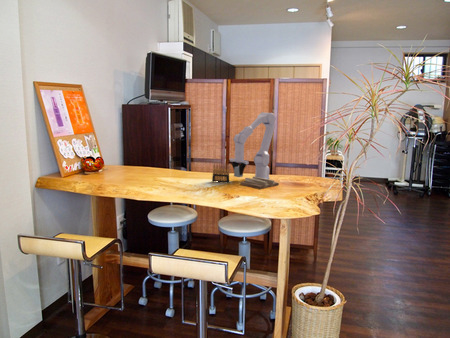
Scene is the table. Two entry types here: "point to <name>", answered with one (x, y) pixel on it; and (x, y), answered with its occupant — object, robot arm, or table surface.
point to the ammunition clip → (220, 173)
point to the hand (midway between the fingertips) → (238, 174)
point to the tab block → (237, 172)
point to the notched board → (259, 182)
